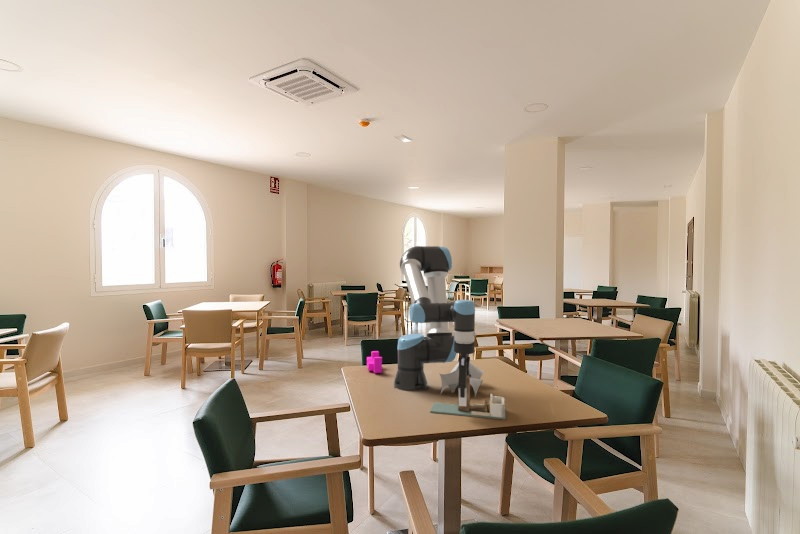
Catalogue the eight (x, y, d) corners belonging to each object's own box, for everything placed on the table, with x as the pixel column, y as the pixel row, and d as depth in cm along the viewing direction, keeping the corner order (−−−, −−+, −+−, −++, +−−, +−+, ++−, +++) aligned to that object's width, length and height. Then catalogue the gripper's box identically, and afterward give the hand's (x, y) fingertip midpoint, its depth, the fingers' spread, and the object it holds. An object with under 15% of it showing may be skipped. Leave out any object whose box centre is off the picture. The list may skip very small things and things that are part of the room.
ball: (489, 402, 144) (499, 406, 144) (489, 398, 148) (499, 403, 147) (485, 411, 145) (495, 415, 144) (486, 407, 148) (495, 411, 147)
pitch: (430, 412, 147) (430, 408, 147) (434, 403, 156) (434, 399, 156) (505, 419, 140) (505, 415, 140) (505, 410, 149) (505, 406, 149)
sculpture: (483, 398, 163) (483, 375, 162) (437, 395, 166) (437, 372, 166) (483, 380, 187) (483, 359, 187) (443, 378, 191) (443, 357, 191)
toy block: (366, 365, 213) (366, 351, 213) (378, 364, 214) (378, 351, 214) (369, 373, 198) (369, 358, 198) (381, 372, 199) (381, 357, 199)
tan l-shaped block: (457, 410, 146) (457, 378, 146) (459, 405, 152) (459, 374, 151) (487, 413, 144) (487, 380, 143) (487, 408, 149) (487, 376, 149)
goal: (489, 416, 142) (489, 401, 142) (490, 407, 150) (490, 393, 150) (504, 417, 141) (504, 402, 141) (504, 408, 149) (504, 394, 149)
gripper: (472, 349, 135) (472, 412, 136) (476, 336, 159) (476, 390, 159) (450, 348, 137) (450, 410, 138) (457, 335, 160) (457, 388, 161)
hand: (464, 399), depth 148 cm, fingers open, 12 cm apart
